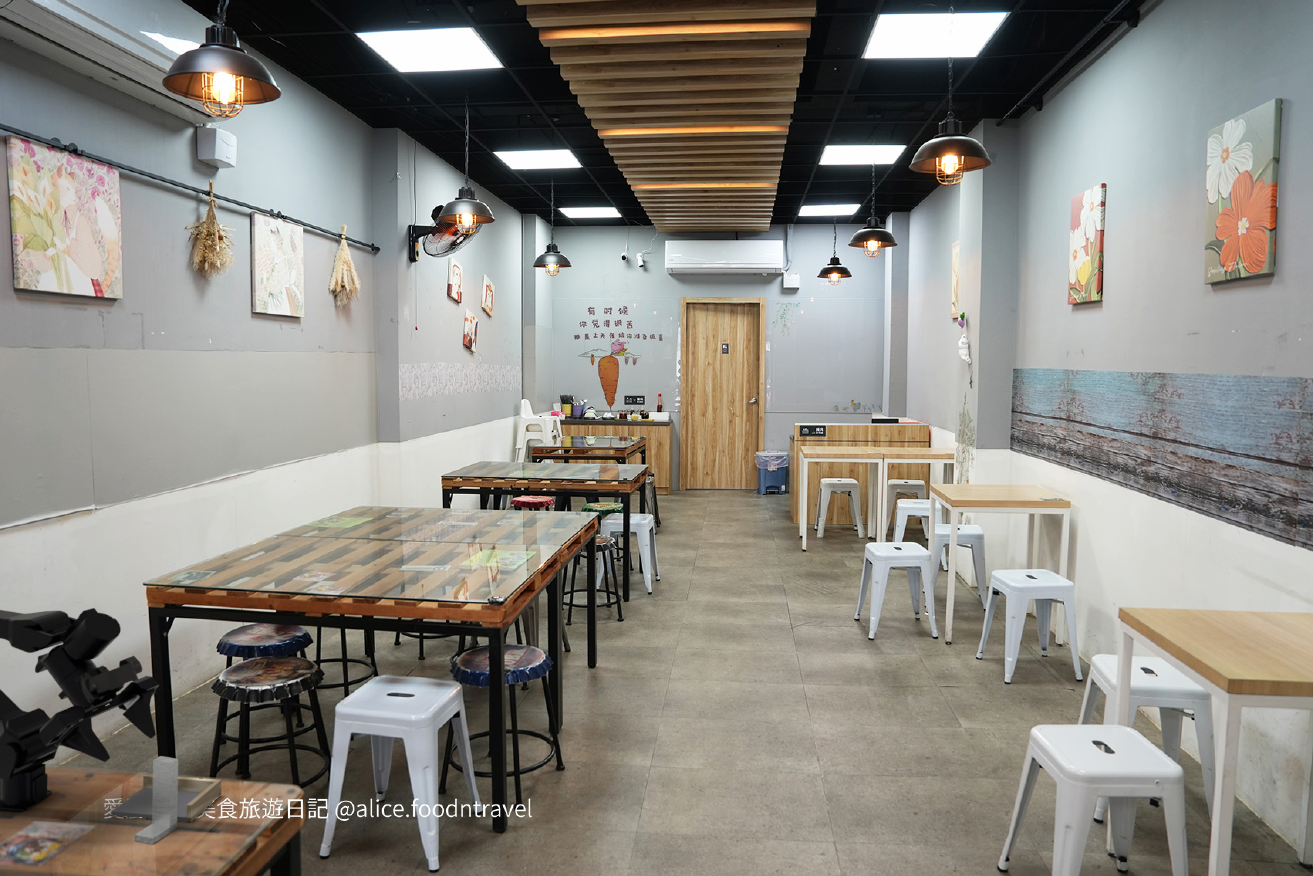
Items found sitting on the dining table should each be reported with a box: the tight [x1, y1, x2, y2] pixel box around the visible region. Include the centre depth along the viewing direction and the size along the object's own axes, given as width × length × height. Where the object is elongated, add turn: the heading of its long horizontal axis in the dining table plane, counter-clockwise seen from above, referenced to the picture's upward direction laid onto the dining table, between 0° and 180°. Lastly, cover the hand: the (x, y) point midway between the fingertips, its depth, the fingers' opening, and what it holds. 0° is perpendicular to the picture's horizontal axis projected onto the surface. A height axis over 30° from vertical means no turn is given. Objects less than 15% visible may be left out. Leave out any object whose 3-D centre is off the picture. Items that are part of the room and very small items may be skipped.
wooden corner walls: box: [142, 773, 223, 823], centre depth 145 cm, size 14×9×3 cm, turn 88°
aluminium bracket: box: [134, 755, 179, 845], centre depth 135 cm, size 4×5×12 cm
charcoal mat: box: [110, 787, 222, 823], centre depth 145 cm, size 14×9×1 cm, turn 88°
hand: (131, 748), depth 138 cm, fingers open, 9 cm apart
